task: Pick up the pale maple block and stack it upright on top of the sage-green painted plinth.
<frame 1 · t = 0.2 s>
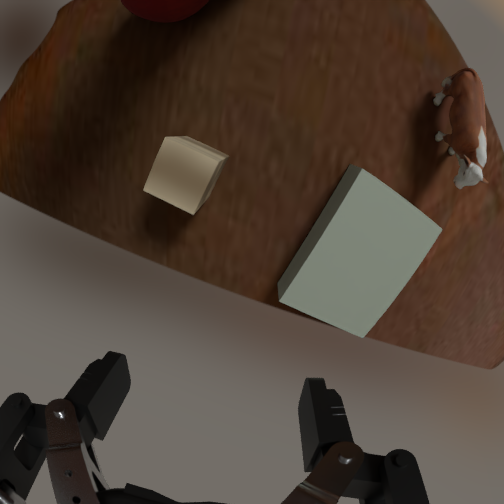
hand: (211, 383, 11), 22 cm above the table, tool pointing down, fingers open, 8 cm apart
maple block: (197, 166, 29), on the table
bull figurine: (442, 126, 25), on the table
plinth: (355, 250, 32), on the table
apple: (182, 2, 21), on the table
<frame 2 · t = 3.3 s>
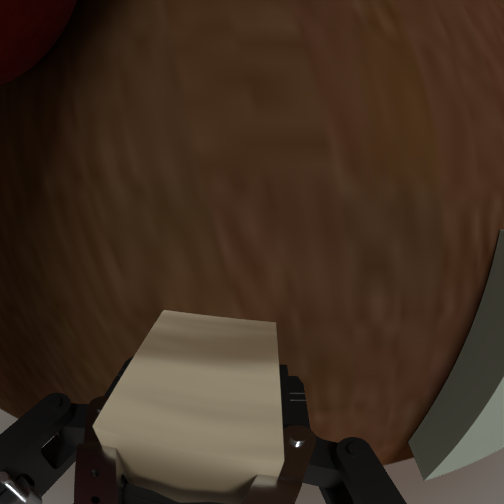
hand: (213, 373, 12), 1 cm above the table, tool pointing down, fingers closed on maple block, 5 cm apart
maple block: (217, 361, 13), on the table, touching gripper
apple: (45, 29, 8), on the table
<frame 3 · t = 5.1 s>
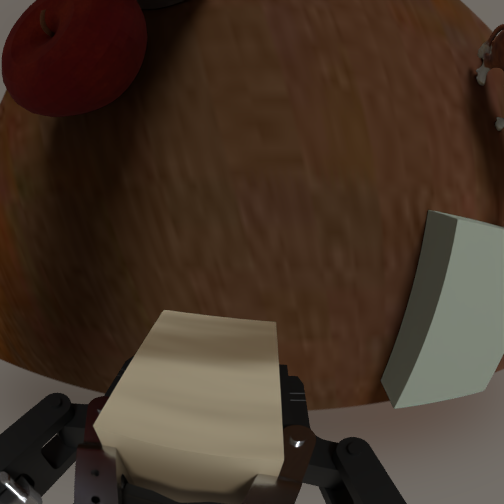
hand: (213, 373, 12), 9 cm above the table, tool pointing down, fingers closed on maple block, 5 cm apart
maple block: (217, 360, 13), point 8 cm above the table, touching gripper
bull figurine: (496, 108, 16), on the table
plinth: (457, 306, 21), on the table
apple: (114, 70, 17), on the table
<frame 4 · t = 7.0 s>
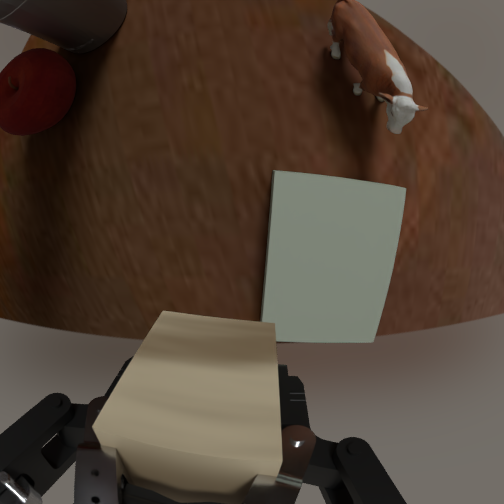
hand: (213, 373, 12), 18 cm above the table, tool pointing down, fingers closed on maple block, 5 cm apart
maple block: (216, 361, 13), point 17 cm above the table, touching gripper
bull figurine: (357, 76, 23), on the table
plinth: (324, 255, 29), on the table
apple: (62, 98, 24), on the table
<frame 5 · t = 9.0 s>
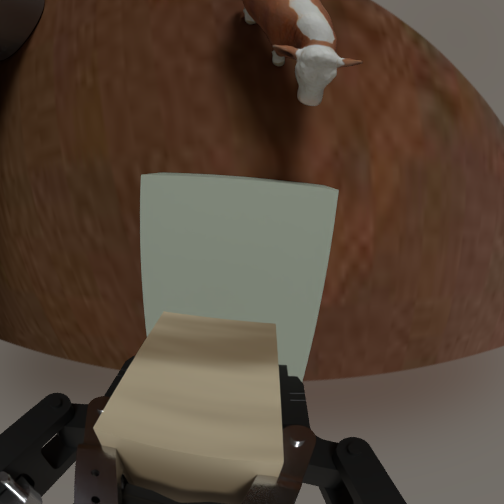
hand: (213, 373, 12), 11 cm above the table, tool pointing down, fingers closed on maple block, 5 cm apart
maple block: (217, 362, 13), point 10 cm above the table, touching gripper
bull figurine: (281, 42, 17), on the table
plinth: (234, 280, 22), on the table
when the fingers open (6 cm above the table, at t = 10.7 s): maple block drops 1 cm, resting on plinth.
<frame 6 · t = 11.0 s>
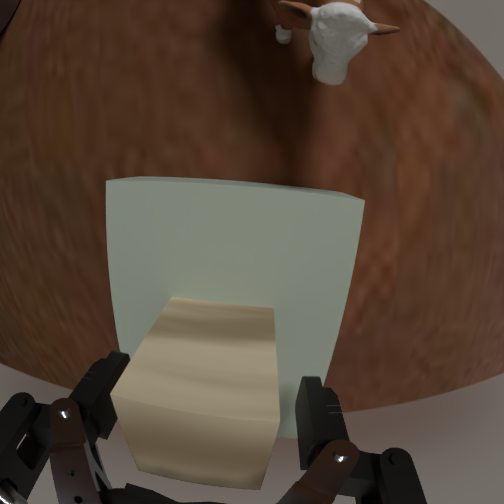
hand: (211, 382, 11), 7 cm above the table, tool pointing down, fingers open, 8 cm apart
maple block: (219, 344, 14), point 4 cm above the table, touching plinth
bull figurine: (286, 17, 13), on the table
plinth: (228, 309, 18), on the table
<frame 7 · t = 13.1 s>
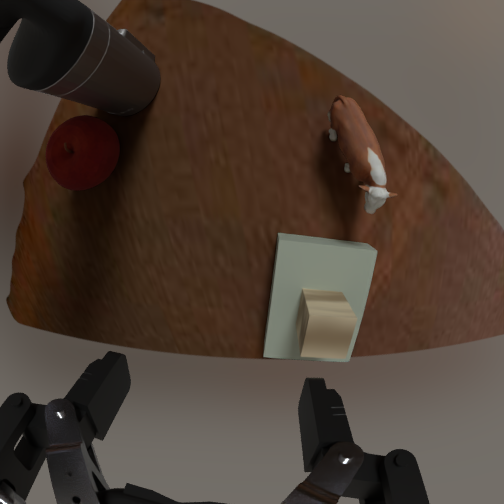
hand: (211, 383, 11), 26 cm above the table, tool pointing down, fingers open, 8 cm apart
maple block: (318, 308, 34), point 4 cm above the table, touching plinth
bull figurine: (349, 155, 33), on the table
plinth: (314, 295, 38), on the table
apple: (105, 154, 35), on the table
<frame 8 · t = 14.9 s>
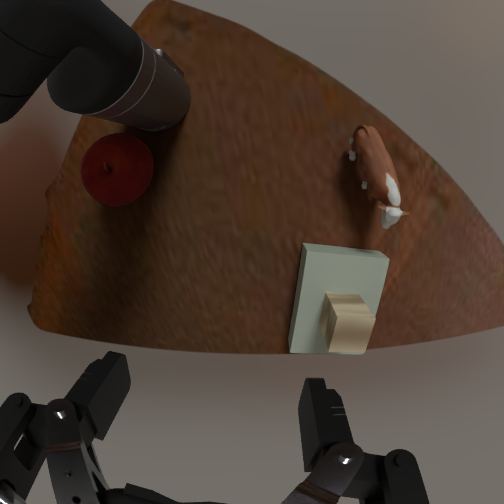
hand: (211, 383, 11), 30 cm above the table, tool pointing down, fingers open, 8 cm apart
maple block: (339, 309, 39), point 4 cm above the table, touching plinth
bull figurine: (365, 173, 37), on the table
plinth: (333, 297, 43), on the table
apple: (136, 168, 38), on the table
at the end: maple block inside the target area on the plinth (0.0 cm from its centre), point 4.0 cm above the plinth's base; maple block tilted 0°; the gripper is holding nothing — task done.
